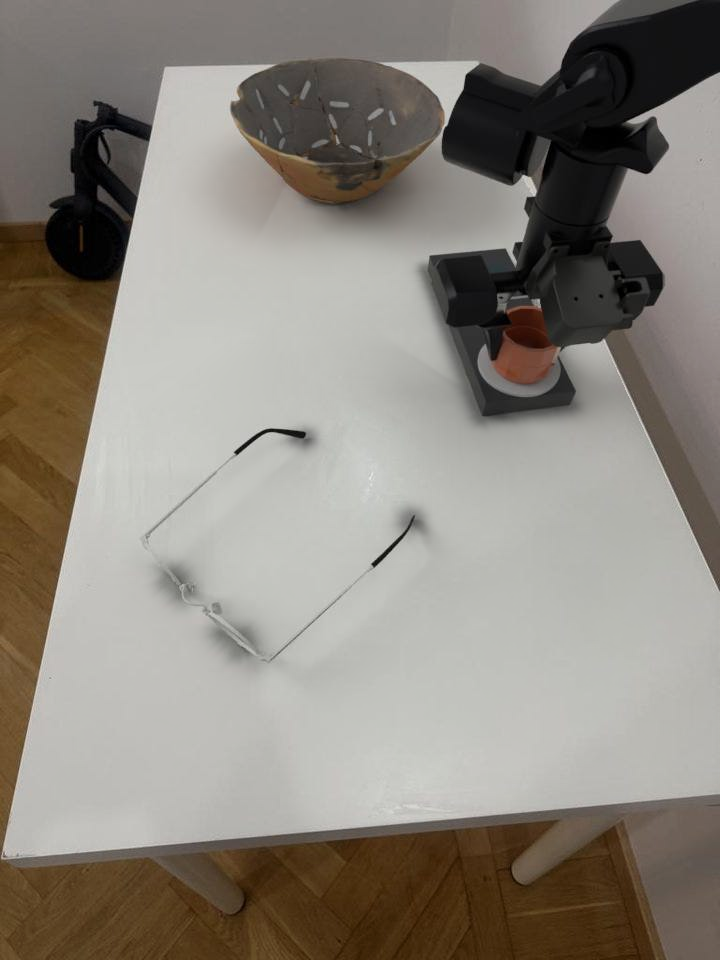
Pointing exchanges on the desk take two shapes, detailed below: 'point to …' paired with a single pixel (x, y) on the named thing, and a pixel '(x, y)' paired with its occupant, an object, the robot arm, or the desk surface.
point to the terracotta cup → (525, 347)
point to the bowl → (337, 124)
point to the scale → (483, 378)
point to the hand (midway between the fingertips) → (523, 354)
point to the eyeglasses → (215, 605)
